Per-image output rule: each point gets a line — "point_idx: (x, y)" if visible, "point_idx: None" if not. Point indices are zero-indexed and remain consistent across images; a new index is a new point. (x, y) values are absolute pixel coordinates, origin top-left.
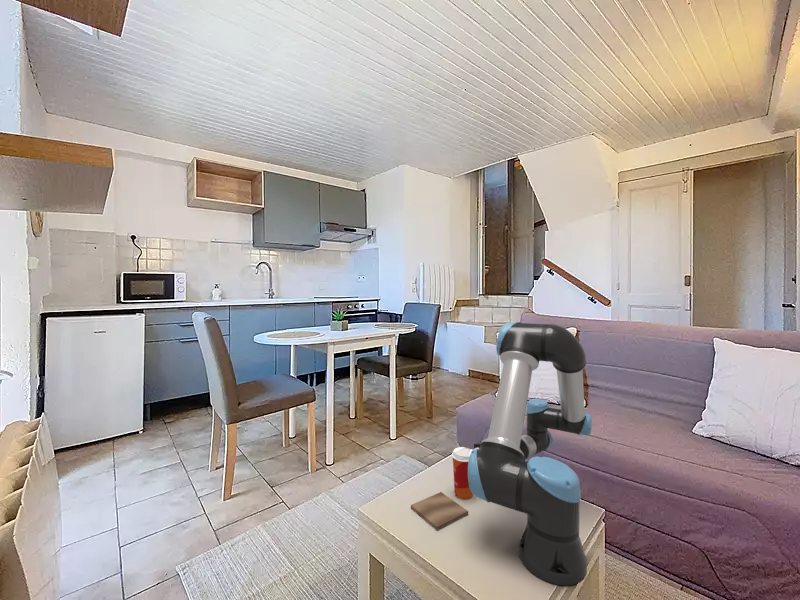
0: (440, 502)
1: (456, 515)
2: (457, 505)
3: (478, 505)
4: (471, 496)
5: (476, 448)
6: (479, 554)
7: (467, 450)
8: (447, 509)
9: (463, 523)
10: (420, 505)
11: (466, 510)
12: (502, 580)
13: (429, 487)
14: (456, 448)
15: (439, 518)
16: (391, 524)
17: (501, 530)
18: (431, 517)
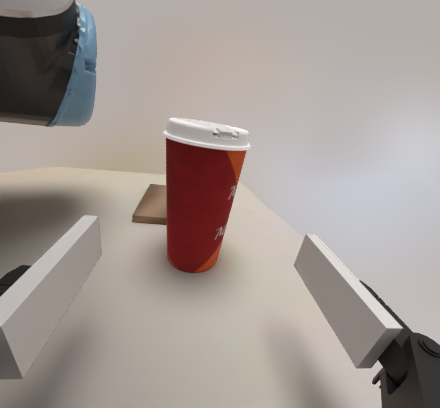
0: None
1: (144, 202)
2: (163, 215)
3: (131, 249)
4: (167, 254)
5: (377, 306)
6: (66, 187)
7: (210, 126)
8: None
9: (126, 207)
10: None
11: (137, 214)
12: (14, 178)
13: (256, 231)
14: (243, 129)
15: (161, 191)
16: None
17: (35, 226)
18: None
